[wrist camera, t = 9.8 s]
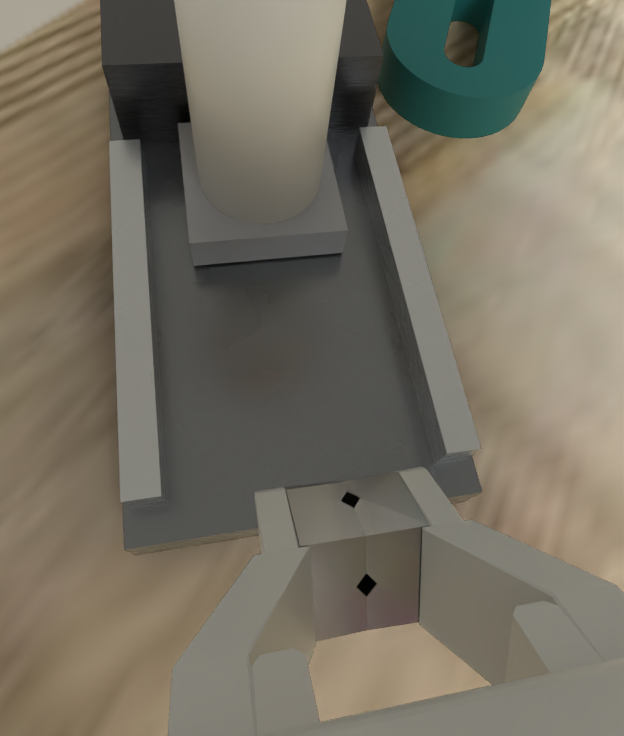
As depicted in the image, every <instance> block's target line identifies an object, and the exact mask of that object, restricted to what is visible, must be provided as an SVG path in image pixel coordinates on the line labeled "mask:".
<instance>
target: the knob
mask: <svg viewBox="0 0 624 736" xmlns="http://www.w3.org/2000/svg"><path fill="white" fill-rule="evenodd" d="M346 1H347V0H174V4H175V11H176V18H177V26H178V33H179V40H180V47H181V54H182V62H183V69H184V76H185V83H186V90H187V97H188V105H189V112H190V119H191V123H178V131H179V142H180V152H181V162H182V172H183V183H184V193H185V203H186V214H187V224H188V234H189V244H190V249H191V254H192V260H193V265H194V266H198V265H209V264H220V263H232V262H243V261H254V260H265V259H277V258H288V257H299V256H311V255H322V254H333V253H343V250H344V246H345V242H346V237H347V233H348V228H347V223H346V219H345V215H344V211H343V206H342V202H341V198H340V194H339V189H338V185H337V181H336V177H335V172H334V168H333V164H332V160H331V156H330V151H329V147H328V143H327V132H328V125H329V118H330V111H331V104H332V97H333V91H334V84H335V77H336V70H337V63H338V56H339V49H340V42H341V35H342V28H343V21H344V15H345V8H346Z"/></svg>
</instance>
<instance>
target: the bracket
mask: <svg viewBox="0 0 624 736" xmlns="http://www.w3.org/2000/svg"><path fill="white" fill-rule="evenodd" d="M550 6H551V0H395V1H394V4H393V7H392V11H391V14H390V17H389V20H388V25H387V29H386V34H385V38H384V43H383V47H382V52H383V55H384V57H383V61H382V66H381V70H380V75H379V79H378V83H379V87H380V90H381V92H382V94H383V96H384V98H385V99H386V101H387V102H388V104H389V105H390V106H391V107H392V108H393V109H394V110H395V111H396V112H397V113H398V114H399V115H400V116H402V117H403V118H404V119H406V120H407V121H409V122H410V123H412V124H414V125H416V126H417V127H419V128H422V129H424V130H426V131H429V132H432V133H435V134H438V135H442V136H447V137H453V138H477V137H484V136H487V135H491V134H494V133H496V132H498V131H500V130H502V129H504V128H505V127H507V126H508V125H509V124H511V123H512V122H513V121H514V119H515V118H516V117H517V115H518V114H519V112H520V110H521V108H522V106H523V104H524V102H525V101H526V99H527V97H528V95H529V93H530V91H531V89H532V87H533V85H534V83H535V82H536V80H537V78H538V76H539V74H540V72H541V70H542V67H543V64H544V58H545V49H546V40H547V32H548V23H549V15H550ZM453 21H463V22H466V23H469V24H471V25H472V26H474V27H475V28H476V29H477V31H478V33H479V39H478V44H477V49H476V54H475V59H474V64H473V67H462V66H459V65H456V64H454V63H453V62H451V61H450V60H449V59H448V58H447V57H446V55H445V53H444V47H445V42H446V38H447V34H448V30H449V25H450V22H453Z"/></svg>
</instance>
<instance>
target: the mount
mask: <svg viewBox="0 0 624 736" xmlns="http://www.w3.org/2000/svg"><path fill="white" fill-rule="evenodd" d="M100 8H101V46H102V67H103V70H104V74H105V77H106V81H107V84H108V88H109V106H110V136H111V141H109V159H110V191H111V223H112V255H113V286H114V318H115V350H116V382H117V414H118V446H119V478H120V502H121V503H122V504H123V530H124V550H126V551H128V552H130V553H133V554H135V555H139V554H145V553H151V552H157V551H163V550H169V549H175V548H182V547H188V546H194V545H200V544H206V543H212V542H218V541H225V540H231V539H237V538H243V537H249V536H255V535H259V534H258V525H257V515H256V506H255V491H261V490H268V489H274V488H281V487H283V488H285V487H290V486H298V485H306V484H314V483H322V482H330V481H338V480H341V481H344V480H350V479H356V478H362V477H368V476H374V475H380V474H386V473H392V472H395V471H401V470H406V469H412V468H417V467H423V468H426V469H427V470H428V472H429V473H430V475H431V476H432V477H433V479H434V480H435V482H436V483H437V484H438V486H439V487H440V489H441V490H442V491H443V493H444V494H445V495H446V497H447V498H448V500H449V501H450V502H451V504H452V503H458V502H464V501H466V500H468V499H470V498H472V497H474V496H476V495H478V494H480V493H482V489H481V486H480V482H479V479H478V475H477V472H476V468H475V465H474V461H473V458H472V455H473V454H475V453H476V452H477V451H479V450H480V449H481V445H480V442H479V439H478V435H477V432H476V428H475V425H474V422H473V418H472V415H471V412H470V408H469V405H468V401H467V398H466V395H465V391H464V388H463V384H462V381H461V378H460V374H459V371H458V367H457V364H456V361H455V357H454V354H453V351H452V347H451V344H450V340H449V337H448V334H447V330H446V327H445V323H444V320H443V317H442V313H441V310H440V307H439V303H438V300H437V296H436V293H435V290H434V286H433V283H432V279H431V276H430V273H429V269H428V266H427V262H426V259H425V256H424V252H423V249H422V246H421V242H420V239H419V235H418V232H417V229H416V225H415V222H414V218H413V215H412V212H411V208H410V205H409V201H408V198H407V195H406V191H405V188H404V185H403V181H402V178H401V174H400V171H399V168H398V164H397V161H396V157H395V154H394V151H393V147H392V144H391V141H390V137H389V134H388V130H387V127H386V126H377V123H376V120H375V116H374V113H373V109H372V105H373V101H374V97H375V92H376V88H377V83H378V79H379V75H380V70H381V66H382V61H383V57H384V55H383V52H382V48H381V45H380V42H379V39H378V36H377V32H376V29H375V26H374V23H373V20H372V17H371V13H370V10H369V7H368V4H367V1H366V0H347V1H346V8H345V15H344V21H343V28H342V35H341V42H340V49H339V56H338V63H337V70H336V77H335V84H334V91H333V97H332V104H331V111H330V118H329V125H328V132H327V143H328V147H329V151H330V156H331V160H332V164H333V168H334V172H335V177H336V181H337V185H338V189H339V194H340V198H341V202H342V206H343V211H344V215H345V219H346V223H347V228H348V233H347V237H346V242H345V246H344V250H343V253H333V254H322V255H311V256H299V257H288V258H277V259H265V260H254V261H243V262H232V263H220V264H209V265H198V266H194V265H193V260H192V254H191V249H190V244H189V234H188V224H187V214H186V203H185V193H184V183H183V172H182V162H181V152H180V142H179V131H178V123H191V119H190V112H189V105H188V97H187V90H186V83H185V76H184V69H183V62H182V54H181V47H180V40H179V33H178V26H177V18H176V11H175V4H174V0H100Z"/></svg>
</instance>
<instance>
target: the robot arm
mask: <svg viewBox="0 0 624 736" xmlns="http://www.w3.org/2000/svg"><path fill="white" fill-rule="evenodd" d="M255 506H256V515H257V525H258V534H259V544H260V553H261V554H258V555H254V556H253V557H252V559H251V560H250V561H249V563H248V564H247V566H246V567H245V568H244V570H243V571H242V572H241V574H240V575H239V577H238V578H237V579H236V581H235V582H234V584H233V585H232V586H231V588H230V589H229V591H228V592H227V593H226V595H225V596H224V597H223V599H222V600H221V602H220V603H219V604H218V606H217V607H216V609H215V610H214V611H213V613H212V614H211V615H210V617H209V618H208V620H207V621H206V622H205V624H204V625H203V627H202V628H201V629H200V631H199V632H198V633H197V635H196V636H195V638H194V639H193V640H192V642H191V643H190V645H189V646H188V647H187V649H186V650H185V651H184V653H183V654H182V656H181V657H180V658H179V660H178V661H177V663H176V664H175V665H174V667H173V668H172V682H171V696H170V710H169V724H168V736H624V593H623V592H622V591H621V590H620V589H619V588H618V587H617V586H616V585H615V584H612V583H610V582H608V581H606V580H604V579H601V578H599V577H597V576H595V575H593V574H590V573H588V572H586V571H584V570H582V569H579V568H577V567H575V566H573V565H571V564H568V563H566V562H564V561H562V560H560V559H557V558H555V557H553V556H551V555H549V554H547V553H544V552H542V551H540V550H538V549H536V548H533V547H531V546H529V545H527V544H525V543H522V542H520V541H518V540H516V539H514V538H511V537H509V536H507V535H505V534H503V533H500V532H498V531H496V530H494V529H492V528H489V527H487V526H485V525H483V524H481V523H478V522H476V521H474V520H466V521H463V519H462V518H461V516H460V515H459V514H458V512H457V511H456V509H455V508H454V507H453V505H452V504H451V502H450V501H449V500H448V498H447V497H446V495H445V494H444V493H443V491H442V490H441V489H440V487H439V486H438V484H437V483H436V482H435V480H434V479H433V477H432V476H431V475H430V473H429V472H428V470H427V469H426V468H423V467H417V468H412V469H406V470H401V471H395V472H392V473H386V474H380V475H374V476H368V477H362V478H356V479H350V480H344V481H341V480H338V481H330V482H322V483H314V484H306V485H298V486H290V487H285V488H283V487H281V488H274V489H268V490H261V491H255ZM415 622H419V625H421V626H422V627H423V628H424V629H425V630H427V631H428V632H429V633H430V634H431V635H433V636H434V637H435V638H436V639H438V640H439V641H440V642H441V643H442V644H444V645H445V646H446V647H447V648H448V649H450V650H451V651H452V652H453V653H455V654H456V655H457V656H458V657H459V658H461V659H462V660H463V661H464V662H465V663H467V664H468V665H469V666H470V667H472V668H473V669H474V670H475V671H476V672H478V673H479V674H480V675H481V676H482V677H484V678H485V679H486V680H487V681H489V682H490V683H491V684H492V685H491V686H486V687H482V688H477V689H472V690H467V691H463V692H458V693H453V694H449V695H444V696H439V697H434V698H430V699H425V700H420V701H416V702H411V703H406V704H402V705H397V706H392V707H387V708H383V709H378V710H373V711H369V712H364V713H359V714H355V715H350V716H345V717H340V718H336V719H331V720H326V721H322V722H320V720H319V715H318V710H317V706H316V701H315V696H314V692H313V687H312V682H311V677H310V673H309V668H308V665H309V662H310V659H311V657H312V654H313V651H314V649H315V646H316V641H320V640H324V639H329V638H333V637H338V636H343V635H347V634H352V633H356V632H361V631H365V630H371V629H377V628H384V627H390V626H396V625H403V624H409V623H415Z"/></svg>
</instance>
